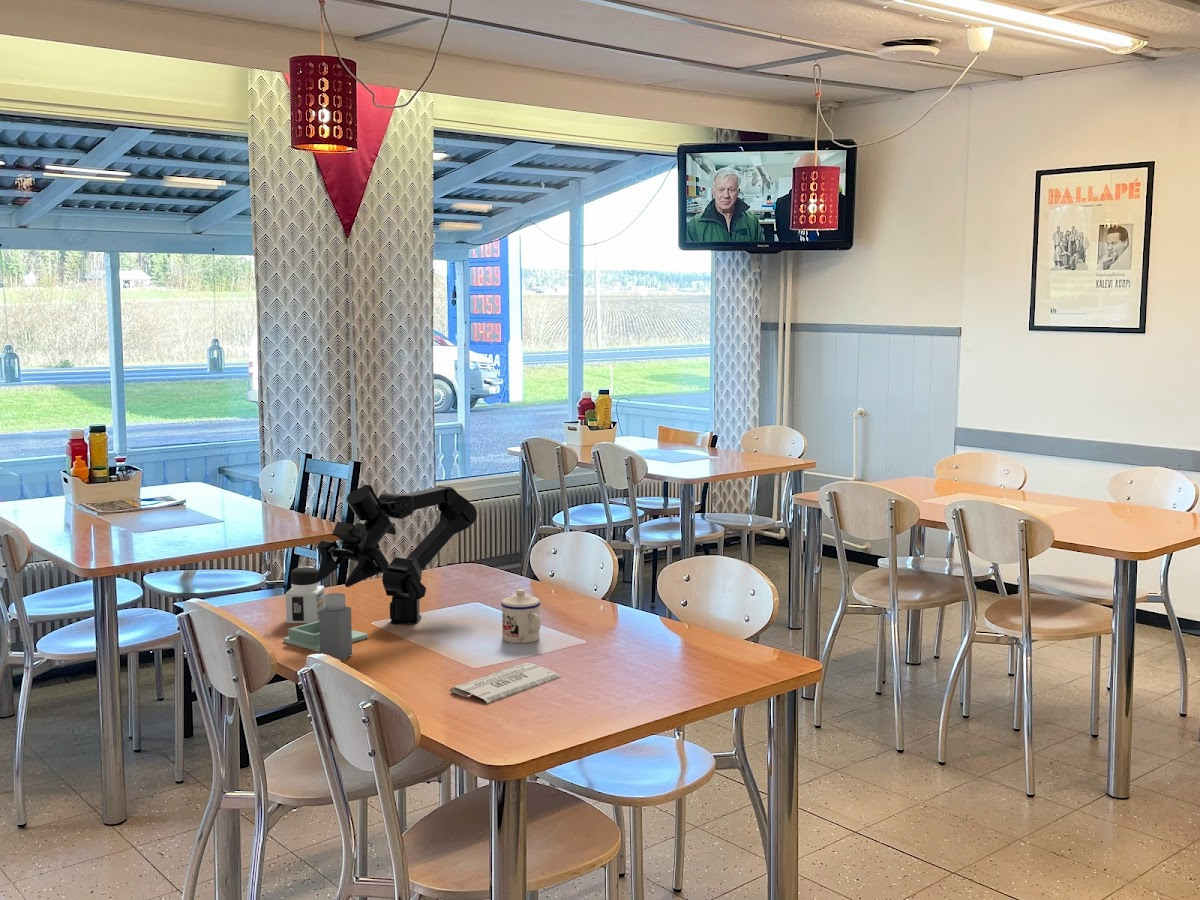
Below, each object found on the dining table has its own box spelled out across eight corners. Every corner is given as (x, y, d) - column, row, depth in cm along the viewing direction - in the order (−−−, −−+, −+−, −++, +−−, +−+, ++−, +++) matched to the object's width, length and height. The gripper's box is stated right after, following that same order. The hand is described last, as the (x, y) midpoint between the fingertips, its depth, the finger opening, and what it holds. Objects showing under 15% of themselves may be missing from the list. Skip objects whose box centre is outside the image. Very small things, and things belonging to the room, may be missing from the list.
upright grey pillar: (332, 653, 259) (330, 591, 258) (352, 655, 258) (350, 593, 256) (320, 659, 255) (318, 597, 253) (340, 661, 253) (338, 599, 251)
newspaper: (518, 668, 251) (519, 657, 250) (560, 685, 243) (561, 674, 243) (440, 694, 233) (441, 682, 233) (483, 713, 226) (484, 701, 225)
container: (317, 623, 283) (315, 571, 282) (286, 623, 283) (284, 571, 282) (325, 615, 291) (324, 564, 289) (294, 615, 291) (293, 564, 289)
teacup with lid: (493, 637, 272) (493, 589, 270) (526, 631, 277) (525, 583, 276) (522, 649, 262) (522, 599, 261) (555, 642, 268) (555, 593, 266)
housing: (331, 628, 279) (331, 614, 278) (367, 638, 271) (367, 623, 270) (283, 641, 268) (283, 627, 267) (319, 652, 260) (319, 636, 259)
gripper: (326, 506, 274) (286, 553, 264) (384, 514, 264) (344, 564, 254) (347, 539, 280) (309, 586, 271) (405, 548, 270) (367, 597, 261)
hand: (331, 583), depth 264 cm, fingers open, 9 cm apart
